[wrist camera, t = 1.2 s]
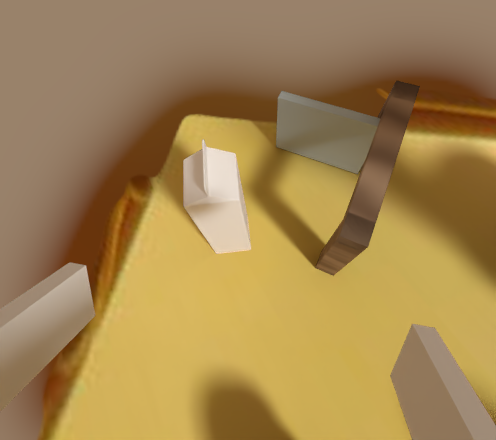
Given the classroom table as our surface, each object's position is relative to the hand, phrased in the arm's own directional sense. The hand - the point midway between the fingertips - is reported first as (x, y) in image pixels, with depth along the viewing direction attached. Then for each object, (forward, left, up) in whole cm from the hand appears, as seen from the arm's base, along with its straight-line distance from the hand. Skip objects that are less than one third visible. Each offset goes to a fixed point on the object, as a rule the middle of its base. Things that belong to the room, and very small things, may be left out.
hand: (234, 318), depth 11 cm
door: (-21, -25, -32) cm, 45 cm away
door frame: (-21, -13, -32) cm, 40 cm away
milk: (-1, -15, -32) cm, 36 cm away
